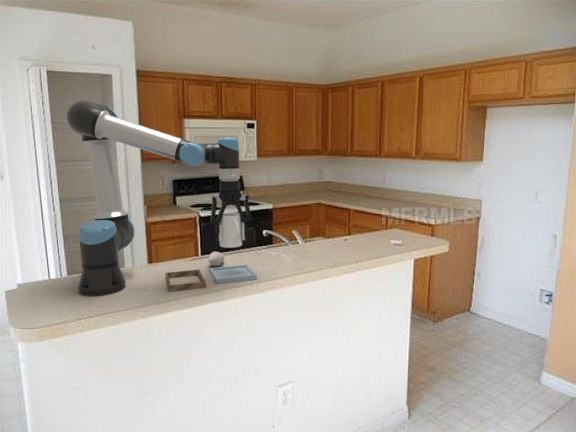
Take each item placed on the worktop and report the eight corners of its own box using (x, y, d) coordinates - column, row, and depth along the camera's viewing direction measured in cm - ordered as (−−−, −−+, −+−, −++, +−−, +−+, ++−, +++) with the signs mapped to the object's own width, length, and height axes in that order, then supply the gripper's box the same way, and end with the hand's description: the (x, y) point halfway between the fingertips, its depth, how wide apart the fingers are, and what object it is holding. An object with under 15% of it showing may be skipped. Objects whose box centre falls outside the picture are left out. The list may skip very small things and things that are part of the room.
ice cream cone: (207, 271, 168) (219, 267, 183) (218, 262, 167) (230, 258, 182) (198, 259, 168) (211, 256, 183) (209, 250, 168) (221, 247, 182)
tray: (216, 284, 153) (216, 279, 153) (209, 272, 167) (209, 268, 167) (256, 279, 158) (256, 274, 158) (247, 268, 172) (247, 264, 172)
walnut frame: (168, 291, 146) (168, 286, 145) (165, 277, 161) (165, 272, 161) (205, 287, 150) (205, 281, 149) (199, 274, 165) (199, 269, 165)
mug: (248, 248, 157) (247, 216, 155) (225, 250, 154) (224, 218, 152) (238, 241, 168) (237, 211, 166) (217, 244, 164) (215, 213, 162)
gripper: (202, 181, 150) (205, 245, 153) (259, 179, 156) (260, 240, 160) (199, 180, 157) (202, 240, 160) (254, 178, 163) (255, 236, 167)
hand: (231, 240), depth 160 cm, fingers closed on mug, 8 cm apart
